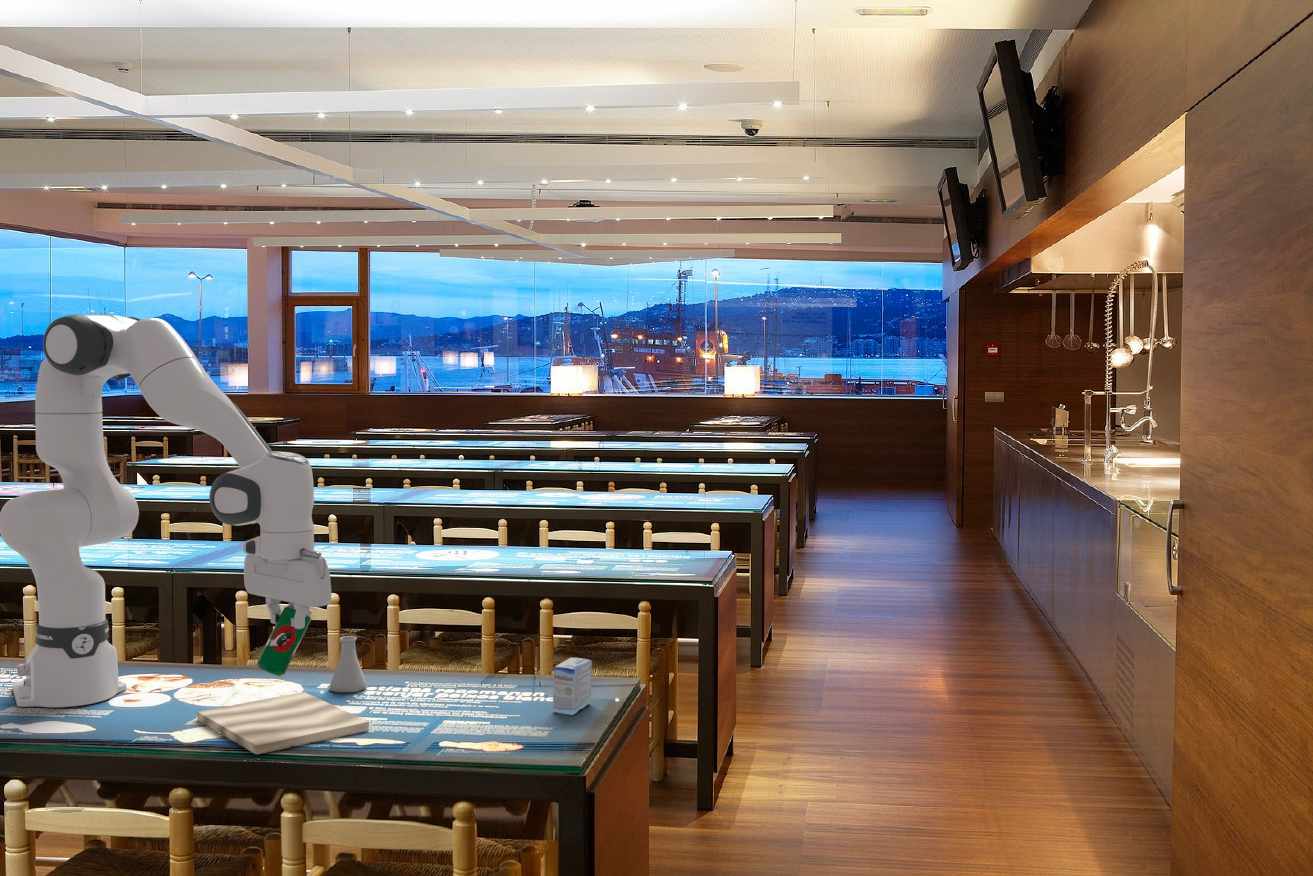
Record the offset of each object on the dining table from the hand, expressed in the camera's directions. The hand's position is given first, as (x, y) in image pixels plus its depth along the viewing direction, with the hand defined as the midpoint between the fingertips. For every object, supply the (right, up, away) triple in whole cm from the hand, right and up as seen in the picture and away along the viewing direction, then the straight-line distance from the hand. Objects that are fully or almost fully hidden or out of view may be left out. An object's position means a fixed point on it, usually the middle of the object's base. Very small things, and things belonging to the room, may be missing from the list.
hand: (287, 625), depth 205 cm
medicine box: (+48, -18, +13) cm, 53 cm away
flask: (+4, -16, +24) cm, 29 cm away
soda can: (-3, -8, -2) cm, 8 cm away
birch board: (-1, -17, 0) cm, 17 cm away
